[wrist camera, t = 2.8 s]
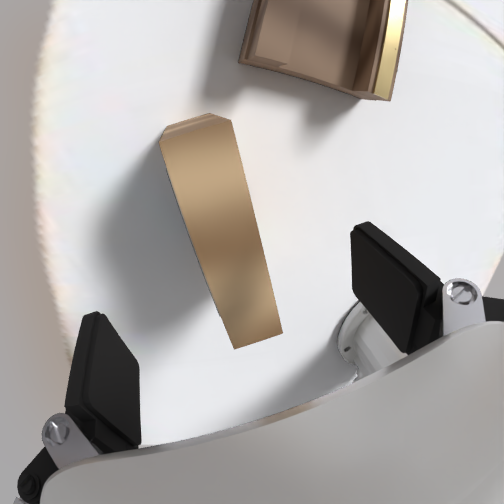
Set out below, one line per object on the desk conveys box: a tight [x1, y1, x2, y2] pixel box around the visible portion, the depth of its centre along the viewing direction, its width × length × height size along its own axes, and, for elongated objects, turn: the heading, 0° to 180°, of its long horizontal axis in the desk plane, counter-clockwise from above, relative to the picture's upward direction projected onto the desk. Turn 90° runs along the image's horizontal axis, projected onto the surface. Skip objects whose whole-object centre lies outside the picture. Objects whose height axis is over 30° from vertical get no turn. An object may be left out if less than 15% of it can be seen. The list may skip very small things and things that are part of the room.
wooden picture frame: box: [159, 113, 283, 349], centre depth 18 cm, size 12×3×9 cm, turn 13°
